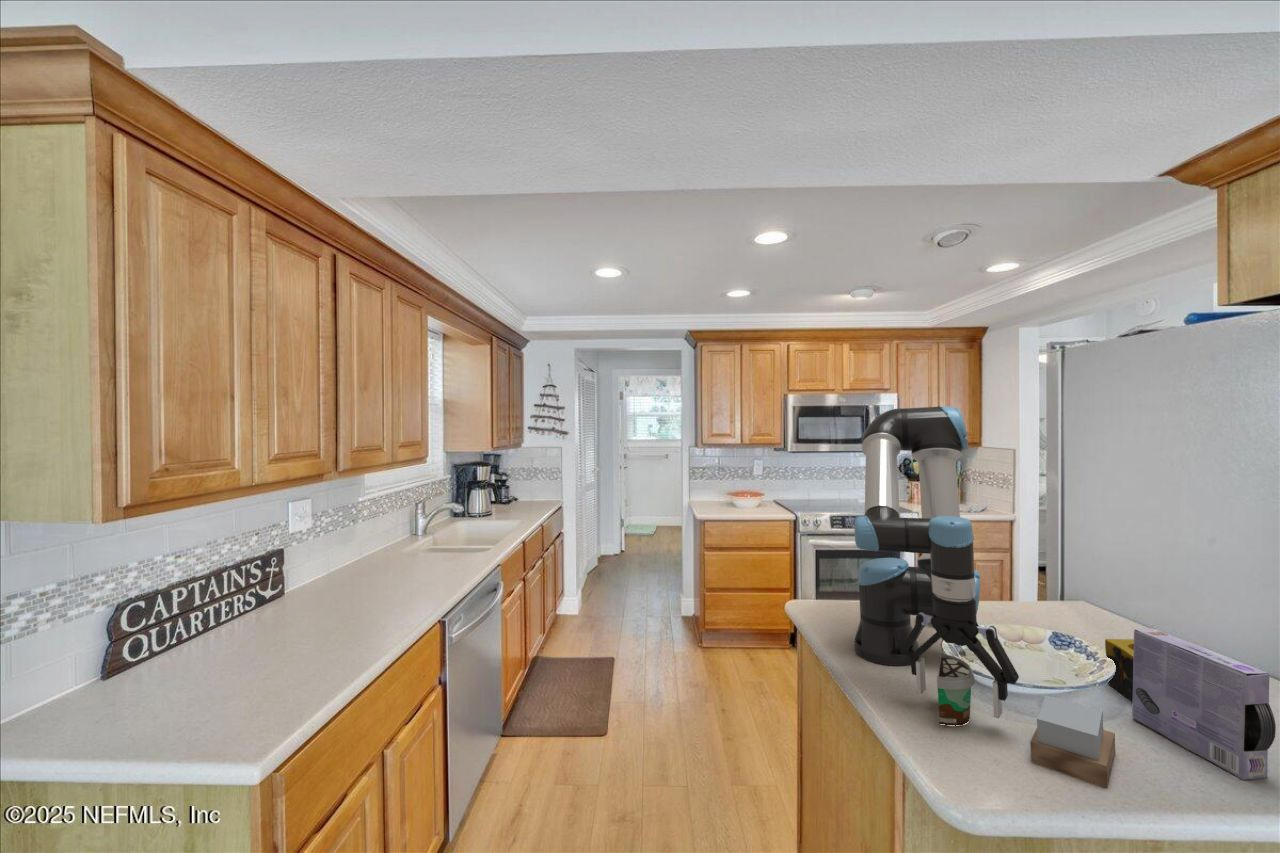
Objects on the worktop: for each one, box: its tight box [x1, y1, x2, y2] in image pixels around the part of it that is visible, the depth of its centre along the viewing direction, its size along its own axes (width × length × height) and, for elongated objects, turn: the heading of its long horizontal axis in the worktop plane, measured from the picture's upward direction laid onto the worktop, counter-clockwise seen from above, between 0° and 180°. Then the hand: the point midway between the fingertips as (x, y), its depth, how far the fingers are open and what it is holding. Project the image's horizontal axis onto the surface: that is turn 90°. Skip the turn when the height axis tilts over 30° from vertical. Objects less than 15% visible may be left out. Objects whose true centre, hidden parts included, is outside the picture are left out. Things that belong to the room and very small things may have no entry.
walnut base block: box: [1029, 728, 1116, 789], centre depth 94 cm, size 10×12×4 cm
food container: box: [936, 652, 976, 726], centre depth 107 cm, size 12×6×10 cm, turn 148°
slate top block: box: [1036, 695, 1104, 761], centre depth 94 cm, size 8×10×4 cm
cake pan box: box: [1131, 628, 1277, 781], centre depth 94 cm, size 19×5×18 cm, turn 5°
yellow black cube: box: [1104, 638, 1134, 703], centre depth 111 cm, size 10×10×10 cm
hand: (958, 702), depth 107 cm, fingers open, 13 cm apart
